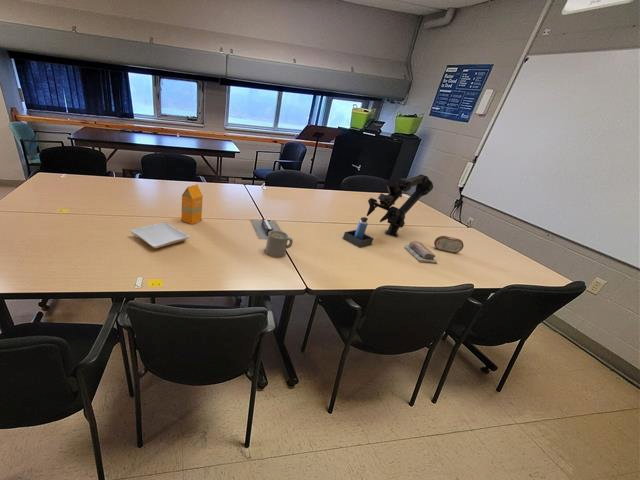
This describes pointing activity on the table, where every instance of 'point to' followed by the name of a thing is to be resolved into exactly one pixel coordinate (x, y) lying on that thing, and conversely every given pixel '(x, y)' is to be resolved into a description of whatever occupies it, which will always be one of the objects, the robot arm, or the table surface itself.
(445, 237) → the tin
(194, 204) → the orange juice
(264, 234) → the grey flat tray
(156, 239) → the salad plate
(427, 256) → the packaged product
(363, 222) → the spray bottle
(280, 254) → the coffee mug
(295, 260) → the table surface
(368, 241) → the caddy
